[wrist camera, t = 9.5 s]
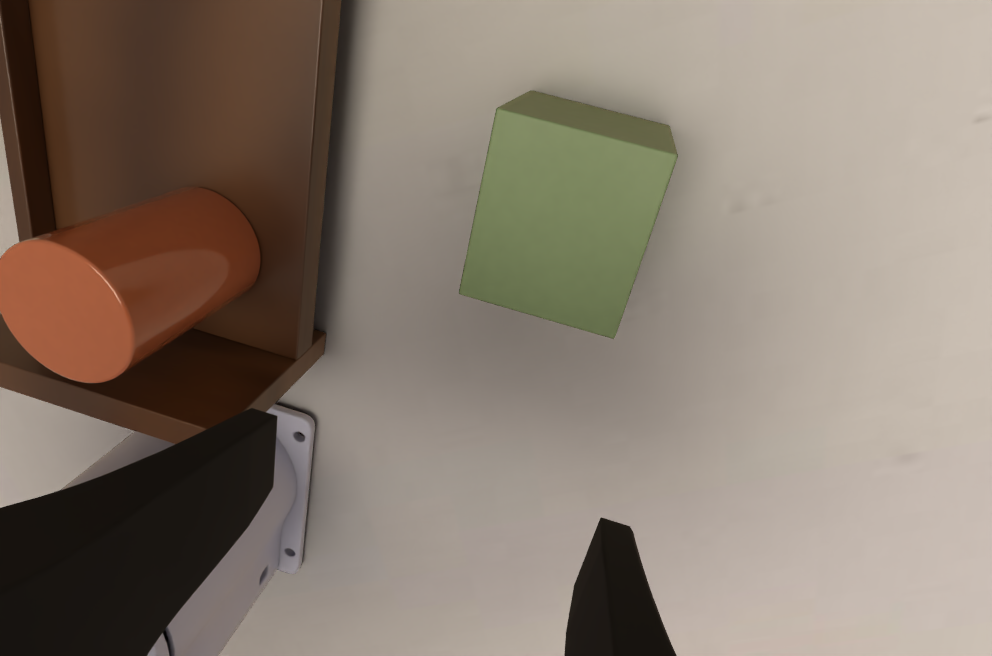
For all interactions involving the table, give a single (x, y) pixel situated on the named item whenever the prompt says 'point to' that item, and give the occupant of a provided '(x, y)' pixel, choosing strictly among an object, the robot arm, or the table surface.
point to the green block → (566, 210)
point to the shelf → (177, 177)
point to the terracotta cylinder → (126, 281)
